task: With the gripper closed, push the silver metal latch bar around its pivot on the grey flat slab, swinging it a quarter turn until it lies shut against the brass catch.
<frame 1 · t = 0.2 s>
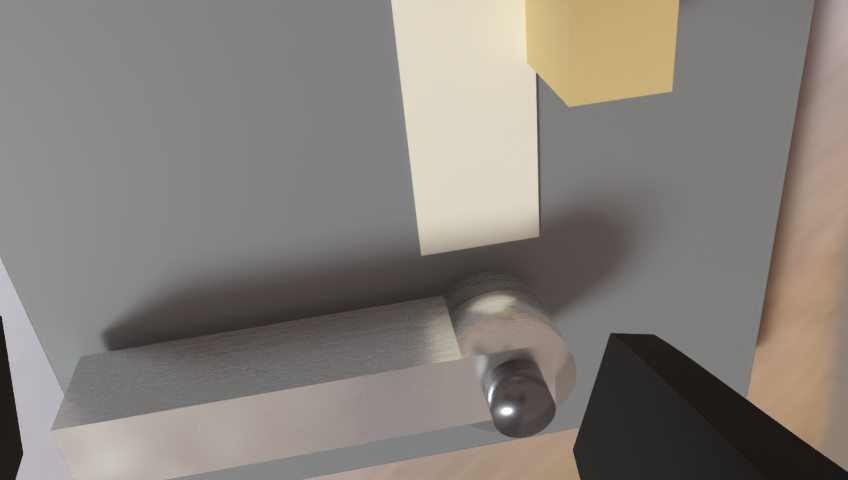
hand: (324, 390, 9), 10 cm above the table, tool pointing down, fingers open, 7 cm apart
grey flat slab: (404, 156, 19), on the table
latch bar: (327, 394, 17), point 4 cm above the table, hinge at 90.0°
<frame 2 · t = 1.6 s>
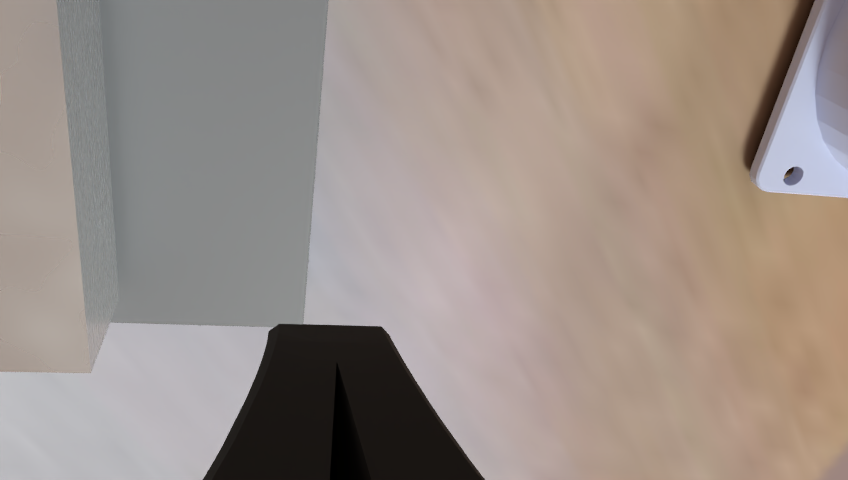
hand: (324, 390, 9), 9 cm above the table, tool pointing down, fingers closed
latch bar: (7, 52, 11), point 4 cm above the table, hinge at 90.0°
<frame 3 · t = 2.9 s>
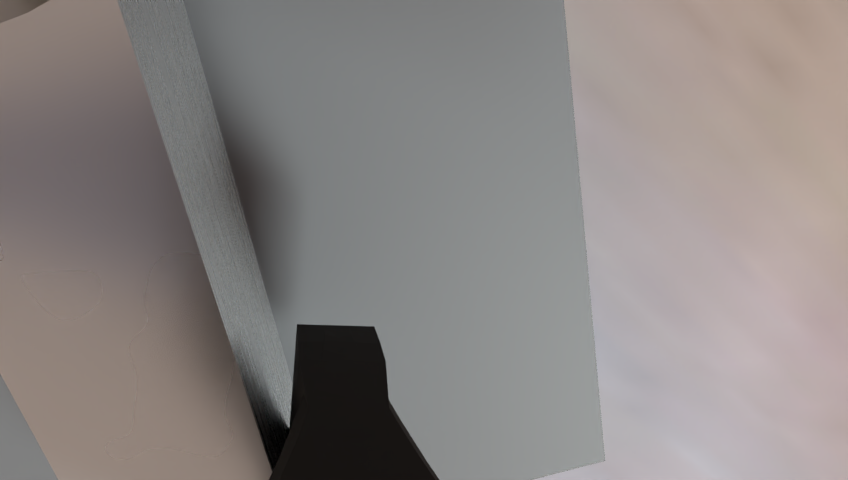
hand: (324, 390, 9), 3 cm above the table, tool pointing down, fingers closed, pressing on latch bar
latch bar: (125, 292, 7), point 4 cm above the table, hinge at 86.1°, touching gripper
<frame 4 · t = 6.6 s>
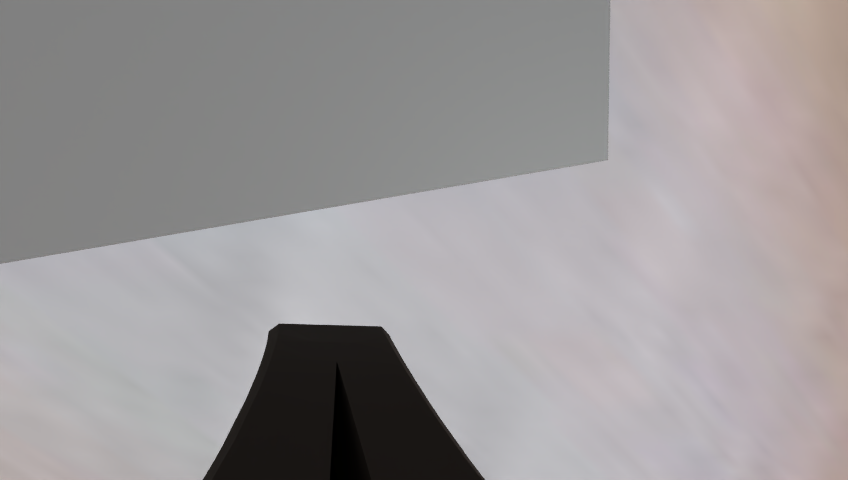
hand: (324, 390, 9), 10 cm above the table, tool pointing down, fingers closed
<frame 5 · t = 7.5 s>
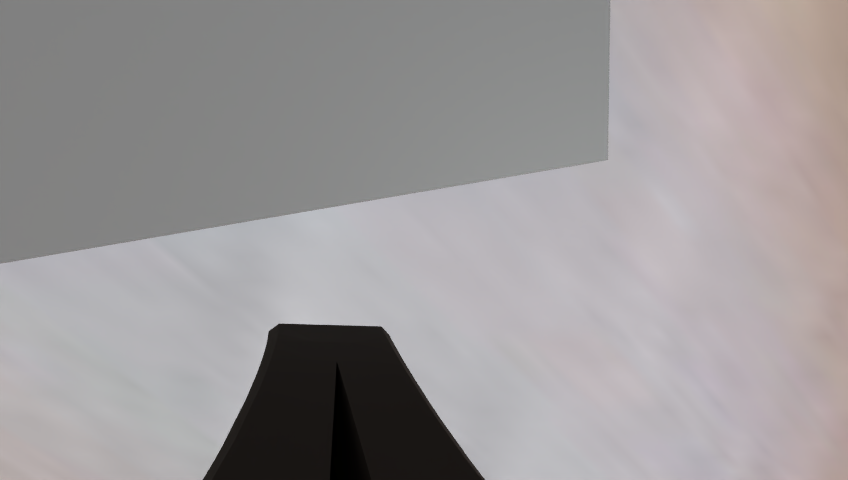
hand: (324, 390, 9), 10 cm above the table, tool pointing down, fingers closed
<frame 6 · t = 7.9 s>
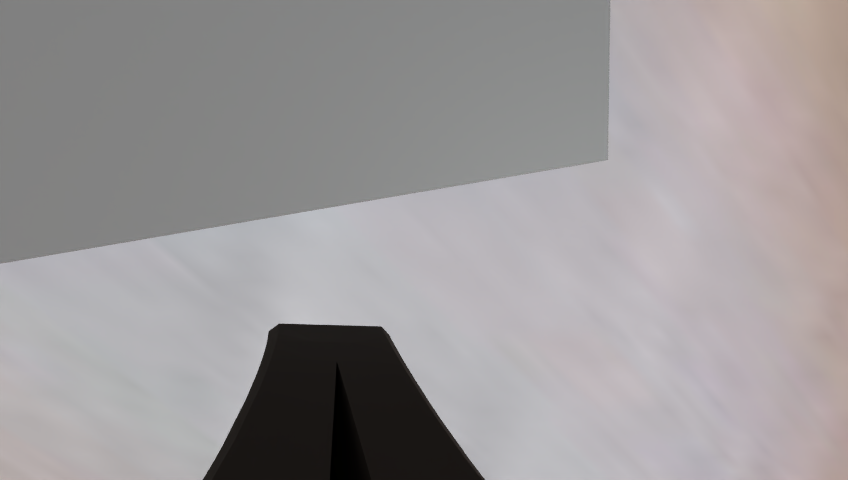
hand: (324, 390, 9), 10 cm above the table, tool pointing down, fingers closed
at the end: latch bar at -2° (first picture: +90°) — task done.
